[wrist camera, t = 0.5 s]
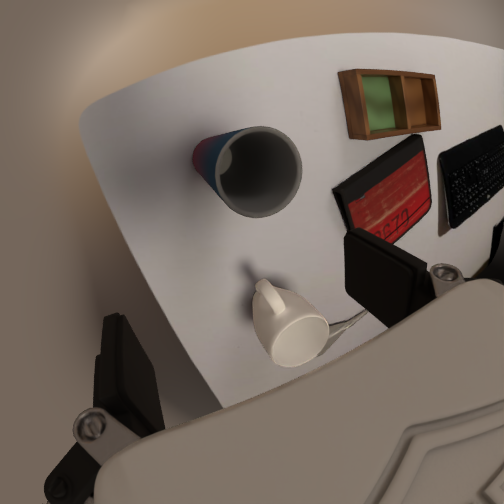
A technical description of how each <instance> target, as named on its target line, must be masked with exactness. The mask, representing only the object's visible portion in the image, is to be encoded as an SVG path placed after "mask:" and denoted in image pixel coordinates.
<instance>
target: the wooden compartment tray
mask: <svg viewBox="0 0 504 504" xmlns="http://www.w3.org/2000/svg"><path fill="white" fill-rule="evenodd" d="M338 75H339V80H340V85H341V90H342V96H343V101H344V107H345V113H346V120H347V126H348V133H349V139H358V140H373V139H379V138H385V137H391V136H397V135H404V134H411V133H418V132H426V131H434V130H441V120H440V110H439V101H438V94H437V87H436V80H435V75H432V74H424V73H416V72H406V71H394V70H377V69H352V70H347V71H342V72H338Z"/></svg>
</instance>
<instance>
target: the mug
mask: <svg viewBox="0 0 504 504" xmlns="http://www.w3.org/2000/svg"><path fill="white" fill-rule="evenodd" d="M255 288H256V290H257V291H256V292H255V294H254V296H253V300H252V304H253V323H254V328H255V332H256V334H257V336H258V338H259V340H260V342H261V344H262V345H263V347H264V348H265V350H266V352H267V353H268V355H269V356H270V358H271V359H272V360H273V361H274V362H275V363H276V364H277V365H279V366H282V367H296V366H299V365H302V364H304V363H306V362H308V361H310V360H311V359H312V358H314V357H315V356H316V355H317V354H318V353H319V352H320V351H321V350H322V348H323V347H324V345H325V344H326V342H327V339H328V336H329V325H328V322H327V320H326V319H325V318H324V317H323V316H322V314H321V313H320V312H319V311H318V310H317V309H316V308H315V307H314V306H312V305H311V304H310V303H309V302H308V301H307V300H306V299H305V298H303V297H302V296H300V295H299V294H297V293H294V292H292V291H289V290H285V289H282V288H278V287H274V286H272V285H271V283H270V282H269V281H268V280H267V279H262V280H260V281H258V282H257V283H256V284H255Z"/></svg>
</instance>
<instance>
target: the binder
mask: <svg viewBox="0 0 504 504" xmlns="http://www.w3.org/2000/svg"><path fill="white" fill-rule="evenodd" d="M332 191H333V193H334V196H335V198H336V201H337V203H338V205H339V208H340V210H341V213H342V215H343V218H344V221H345V223H346V226H347V229H348V231H349V230H352V229H355V228H358V227H360V228H362V229H364V230H366V231H368V232H370V233H372V234H374V235H376V236H378V237H380V238H382V239H384V240H386V241H387V242H389V243H391V244H394V243H395V242H396V241H398V240H399V239H400V238H401V237H402V236H403V235H404V234H405V233H407V232H408V231H409V230H410V229H411V228H412V227H413V226H414V225H415V224H416V223H418V222H419V221H420V220H421V219H422V218H423V217H424V216H425V215H426V214H427V213H428V211H429V210H430V208H431V204H432V198H431V189H430V180H429V172H428V165H427V159H426V154H425V148H424V143H423V139H422V136H421V135H419V134H413V135H412V136H410V137H409V138H407V139H406V140H404V141H403V142H401V143H400V144H398V145H397V146H395V147H394V148H392V149H391V150H389V151H388V152H386V153H385V154H384V155H382V156H381V157H379V158H378V159H376V160H375V161H373V162H372V163H371V164H369V165H368V166H366V167H365V168H363V169H362V170H361V171H359V172H358V173H356V174H355V175H353V176H352V177H350V178H349V179H348V180H346V181H345V182H343V183H342V184H341V185H339V186H338V187H336V188H335V189H333V190H332Z"/></svg>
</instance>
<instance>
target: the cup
mask: <svg viewBox="0 0 504 504" xmlns="http://www.w3.org/2000/svg"><path fill="white" fill-rule="evenodd" d="M192 160H193V165H194V167H195V169H196V171H197V172H198V173H199V174H200V175H201V176H202V177H203V179H204V180H205V181H206V182H207V183H208V184H209V185H210V187H211V188H212V189H213V190H214V191H215V192H216V193H217V195H218V196H219V197H220V198H221V199H222V200H223V201H224V203H225V204H226V205H227V206H228V207H229V208H230V209H232V210H233V211H235V212H236V213H238V214H240V215H243V216H246V217H251V218H262V217H267V216H271V215H273V214H275V213H277V212H279V211H280V210H282V209H283V208H285V207H286V206H287V205H288V204H289V203H290V202H291V200H292V199H293V198H294V196H295V195H296V193H297V191H298V189H299V186H300V182H301V179H302V161H301V158H300V154H299V152H298V150H297V148H296V146H295V144H294V143H293V142H292V140H291V139H290V138H289V137H287V136H286V135H285V134H284V133H282V132H280V131H279V130H277V129H274V128H271V127H264V126H257V127H250V128H245V129H241V130H237V131H233V132H229V133H225V134H221V135H217V136H213V137H210V138H207V139H204V140H203V141H201V142H200V143H199V144H198V145H197V146H196V148H195V150H194V152H193V159H192Z"/></svg>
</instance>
